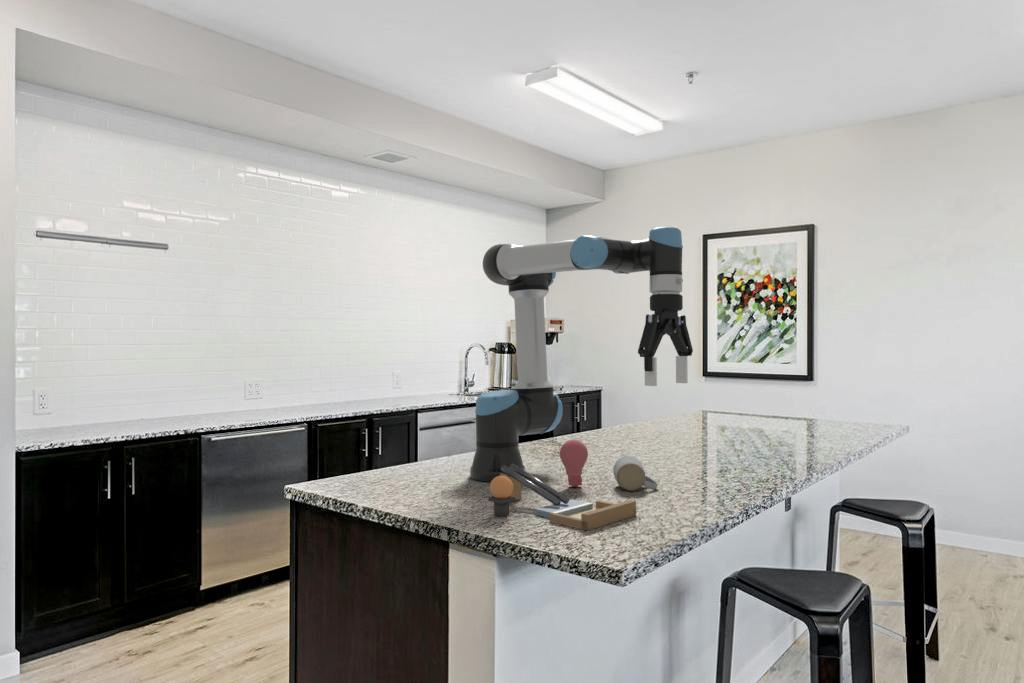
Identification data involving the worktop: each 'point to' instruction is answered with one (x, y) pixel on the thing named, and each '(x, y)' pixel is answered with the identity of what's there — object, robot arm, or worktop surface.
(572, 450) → the light bulb
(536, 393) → the robot arm
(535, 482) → the ramp
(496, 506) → the tee
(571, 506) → the block
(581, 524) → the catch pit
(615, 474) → the ceramic mug
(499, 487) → the ball
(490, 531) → the worktop surface
